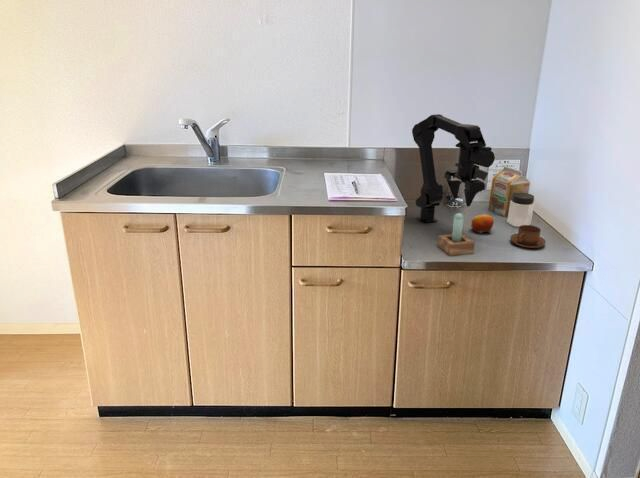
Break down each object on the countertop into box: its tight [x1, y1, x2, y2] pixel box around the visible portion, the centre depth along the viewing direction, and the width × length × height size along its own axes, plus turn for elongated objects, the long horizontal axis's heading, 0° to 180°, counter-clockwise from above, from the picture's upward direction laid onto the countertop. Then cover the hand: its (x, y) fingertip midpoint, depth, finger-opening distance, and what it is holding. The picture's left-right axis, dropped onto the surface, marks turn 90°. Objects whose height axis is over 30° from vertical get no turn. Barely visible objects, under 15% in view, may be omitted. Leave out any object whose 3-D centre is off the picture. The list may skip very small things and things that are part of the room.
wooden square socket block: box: [437, 233, 476, 257], centre depth 175 cm, size 9×9×4 cm
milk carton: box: [487, 165, 531, 218], centre depth 210 cm, size 11×11×19 cm
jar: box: [506, 192, 535, 228], centre depth 198 cm, size 9×8×12 cm
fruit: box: [471, 214, 495, 234], centre depth 191 cm, size 8×8×8 cm
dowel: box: [451, 212, 465, 242], centre depth 174 cm, size 3×3×14 cm
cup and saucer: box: [509, 225, 546, 249], centre depth 180 cm, size 12×12×6 cm
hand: (461, 202), depth 184 cm, fingers open, 9 cm apart
